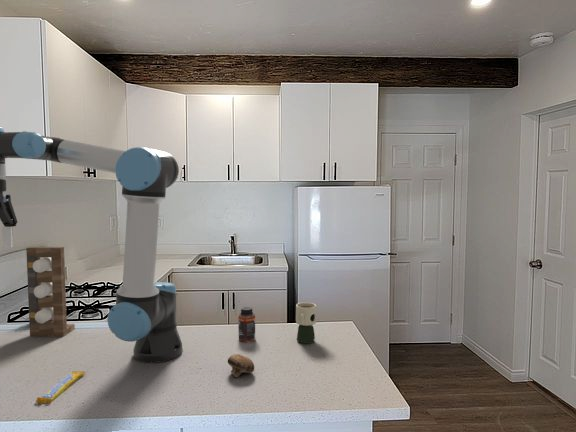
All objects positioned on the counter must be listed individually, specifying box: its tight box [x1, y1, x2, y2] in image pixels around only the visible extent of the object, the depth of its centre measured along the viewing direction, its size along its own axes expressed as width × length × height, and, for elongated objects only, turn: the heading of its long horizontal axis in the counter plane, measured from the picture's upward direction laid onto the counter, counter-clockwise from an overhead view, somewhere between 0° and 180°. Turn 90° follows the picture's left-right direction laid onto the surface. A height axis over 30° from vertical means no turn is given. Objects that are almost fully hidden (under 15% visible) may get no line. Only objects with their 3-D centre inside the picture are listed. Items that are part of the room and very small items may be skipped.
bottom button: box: [35, 308, 53, 323], centre depth 150 cm, size 6×4×4 cm
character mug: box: [295, 301, 317, 344], centre depth 147 cm, size 11×7×13 cm, turn 162°
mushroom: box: [227, 353, 255, 379], centre depth 121 cm, size 8×8×6 cm
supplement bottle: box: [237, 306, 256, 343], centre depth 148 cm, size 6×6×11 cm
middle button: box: [34, 283, 52, 298], centre depth 150 cm, size 6×4×4 cm
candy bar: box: [35, 370, 86, 404], centre depth 113 cm, size 17×4×2 cm, turn 177°
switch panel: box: [25, 246, 76, 338], centre depth 153 cm, size 9×12×32 cm
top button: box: [33, 257, 52, 273], centre depth 149 cm, size 6×4×4 cm
